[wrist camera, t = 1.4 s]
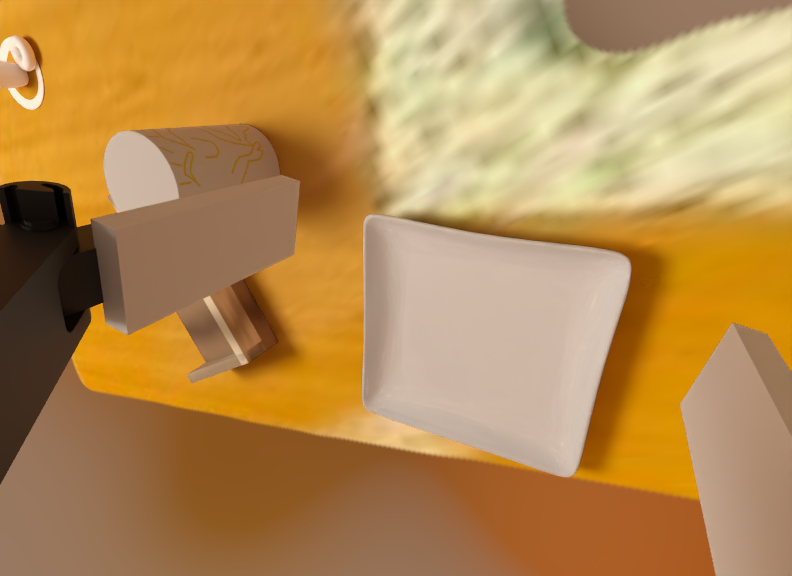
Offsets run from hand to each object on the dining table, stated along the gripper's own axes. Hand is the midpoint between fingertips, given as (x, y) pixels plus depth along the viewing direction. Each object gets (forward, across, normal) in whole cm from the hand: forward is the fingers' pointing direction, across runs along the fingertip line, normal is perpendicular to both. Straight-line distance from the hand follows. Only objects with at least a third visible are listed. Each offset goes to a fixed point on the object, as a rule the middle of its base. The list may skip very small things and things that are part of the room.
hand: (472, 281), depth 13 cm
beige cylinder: (+24, -29, -7) cm, 38 cm away
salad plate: (+24, -2, -16) cm, 28 cm away
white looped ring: (+24, -61, -6) cm, 65 cm away
